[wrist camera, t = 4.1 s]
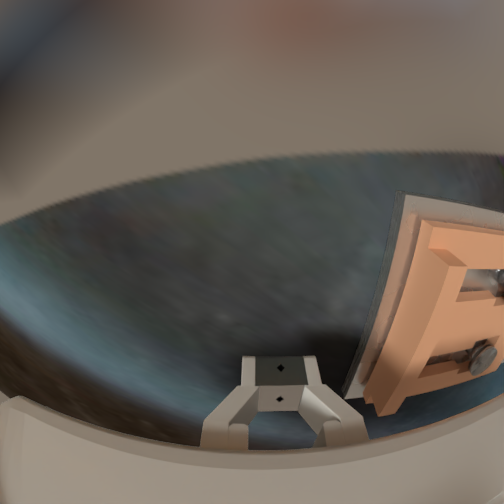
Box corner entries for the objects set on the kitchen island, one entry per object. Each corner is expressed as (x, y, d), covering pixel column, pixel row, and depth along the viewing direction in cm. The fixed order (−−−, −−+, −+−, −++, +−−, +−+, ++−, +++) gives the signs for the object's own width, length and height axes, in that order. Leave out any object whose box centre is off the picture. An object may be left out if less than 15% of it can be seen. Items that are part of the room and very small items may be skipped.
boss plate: (514, 350, 17) (528, 368, 14) (341, 388, 17) (350, 423, 14) (563, 228, 12) (584, 242, 9) (396, 190, 12) (431, 208, 9)
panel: (491, 363, 16) (504, 383, 13) (362, 392, 16) (372, 425, 13) (545, 239, 11) (568, 254, 8) (422, 219, 11) (456, 242, 8)
